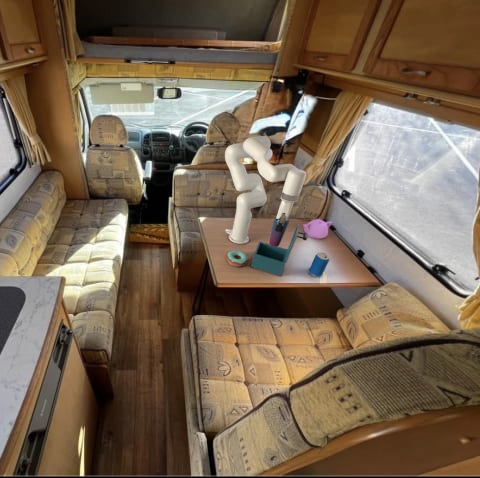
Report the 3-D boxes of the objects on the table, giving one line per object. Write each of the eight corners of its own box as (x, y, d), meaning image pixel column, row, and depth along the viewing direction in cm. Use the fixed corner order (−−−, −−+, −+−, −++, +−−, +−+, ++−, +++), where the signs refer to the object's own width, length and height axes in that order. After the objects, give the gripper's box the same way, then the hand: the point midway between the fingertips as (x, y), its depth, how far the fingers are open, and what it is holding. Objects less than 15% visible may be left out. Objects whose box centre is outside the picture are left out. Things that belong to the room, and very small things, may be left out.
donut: (244, 270, 142) (245, 265, 139) (223, 263, 146) (224, 258, 144) (249, 258, 150) (250, 253, 148) (229, 252, 155) (230, 246, 152)
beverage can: (321, 279, 137) (329, 261, 130) (307, 274, 140) (315, 257, 133) (322, 272, 141) (330, 254, 134) (309, 267, 144) (317, 250, 137)
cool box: (250, 266, 144) (254, 254, 139) (255, 253, 154) (259, 241, 149) (280, 276, 138) (284, 263, 133) (283, 261, 148) (288, 249, 143)
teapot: (293, 229, 176) (298, 216, 170) (320, 227, 179) (326, 213, 173) (306, 241, 165) (311, 227, 159) (334, 238, 168) (340, 224, 162)
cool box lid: (295, 236, 124) (307, 240, 121) (298, 223, 133) (309, 226, 131) (284, 262, 133) (295, 266, 131) (287, 248, 143) (298, 252, 141)
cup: (279, 240, 140) (287, 216, 132) (281, 248, 135) (290, 223, 126) (266, 239, 141) (273, 215, 133) (268, 246, 136) (275, 222, 127)
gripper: (283, 187, 130) (274, 218, 140) (278, 201, 117) (268, 234, 128) (300, 191, 127) (289, 222, 137) (296, 205, 114) (284, 238, 125)
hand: (279, 228), depth 132 cm, fingers closed on cup, 6 cm apart
